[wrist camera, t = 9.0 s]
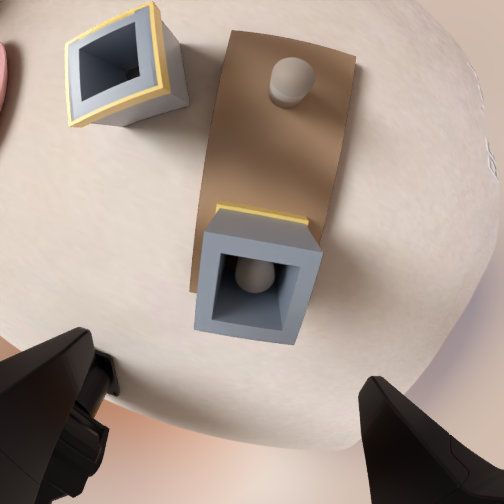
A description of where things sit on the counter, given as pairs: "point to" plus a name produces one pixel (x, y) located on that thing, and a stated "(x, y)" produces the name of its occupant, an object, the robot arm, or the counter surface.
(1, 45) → the plate
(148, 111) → the sleeve band up
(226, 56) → the pin board
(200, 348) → the counter surface
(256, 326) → the sleeve band down
